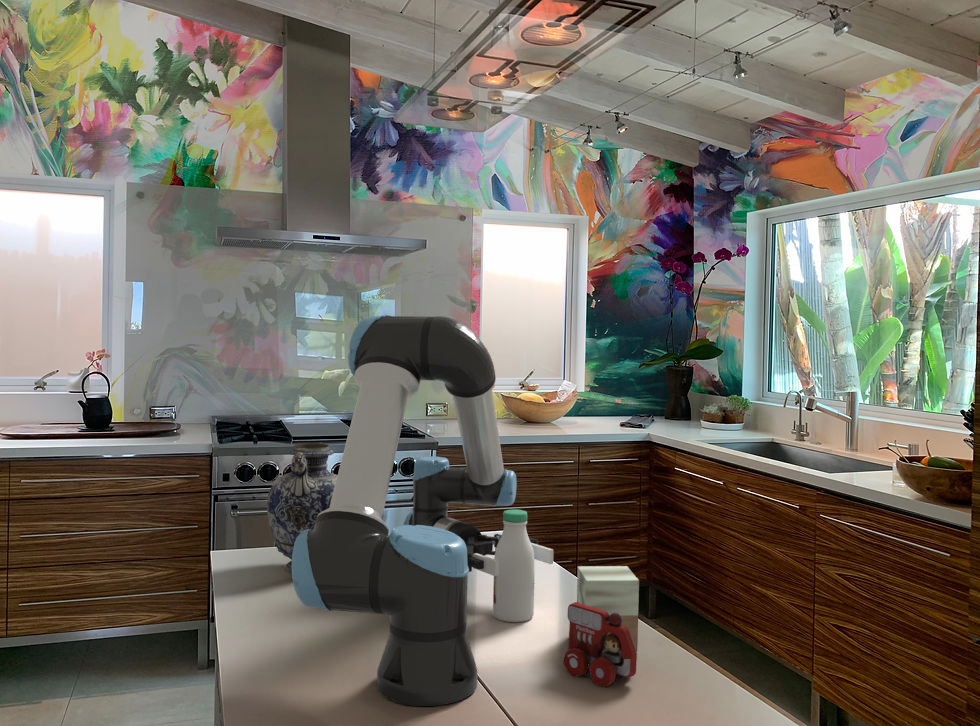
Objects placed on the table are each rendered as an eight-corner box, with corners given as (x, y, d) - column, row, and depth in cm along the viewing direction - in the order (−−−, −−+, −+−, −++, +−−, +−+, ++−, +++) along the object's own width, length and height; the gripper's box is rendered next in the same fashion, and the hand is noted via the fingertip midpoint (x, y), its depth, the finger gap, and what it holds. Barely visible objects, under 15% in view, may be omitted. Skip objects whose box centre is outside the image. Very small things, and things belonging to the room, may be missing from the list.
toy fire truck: (620, 694, 122) (621, 625, 121) (554, 670, 130) (556, 605, 130) (645, 680, 127) (647, 614, 126) (580, 658, 135) (582, 595, 135)
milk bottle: (542, 616, 155) (544, 511, 154) (515, 626, 149) (517, 517, 148) (511, 606, 160) (513, 505, 159) (484, 616, 154) (486, 511, 154)
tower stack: (637, 650, 139) (638, 580, 138) (584, 650, 138) (586, 580, 138) (625, 632, 147) (627, 566, 147) (576, 632, 147) (577, 566, 146)
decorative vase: (281, 554, 195) (284, 437, 194) (358, 557, 194) (361, 440, 193) (251, 581, 173) (254, 450, 172) (338, 585, 173) (341, 453, 172)
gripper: (503, 548, 176) (572, 571, 160) (405, 567, 161) (471, 595, 144) (503, 513, 176) (573, 533, 160) (406, 529, 160) (472, 552, 144)
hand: (525, 562), depth 152 cm, fingers open, 13 cm apart
